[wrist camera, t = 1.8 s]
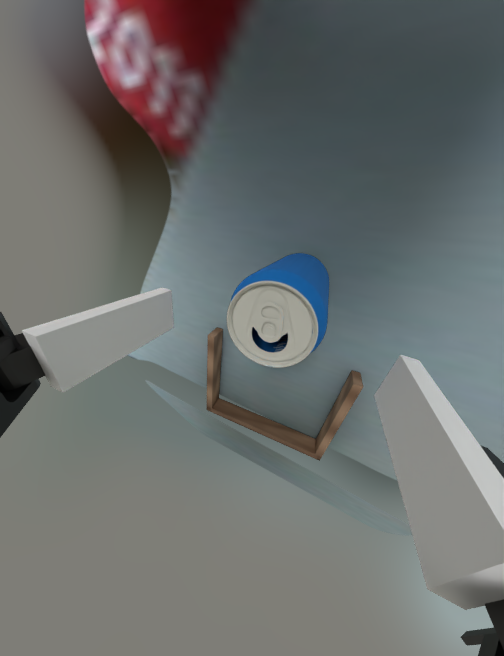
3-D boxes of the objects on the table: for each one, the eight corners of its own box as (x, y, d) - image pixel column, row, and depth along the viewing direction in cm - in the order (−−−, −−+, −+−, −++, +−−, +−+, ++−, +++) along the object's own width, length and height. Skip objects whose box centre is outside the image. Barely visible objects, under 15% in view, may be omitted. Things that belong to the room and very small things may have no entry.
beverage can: (269, 306, 24) (223, 360, 14) (272, 251, 21) (217, 268, 11) (323, 314, 22) (315, 384, 12) (335, 254, 19) (339, 279, 9)
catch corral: (217, 327, 28) (207, 335, 26) (360, 372, 23) (363, 387, 21) (213, 399, 36) (206, 409, 34) (320, 445, 31) (319, 460, 29)
